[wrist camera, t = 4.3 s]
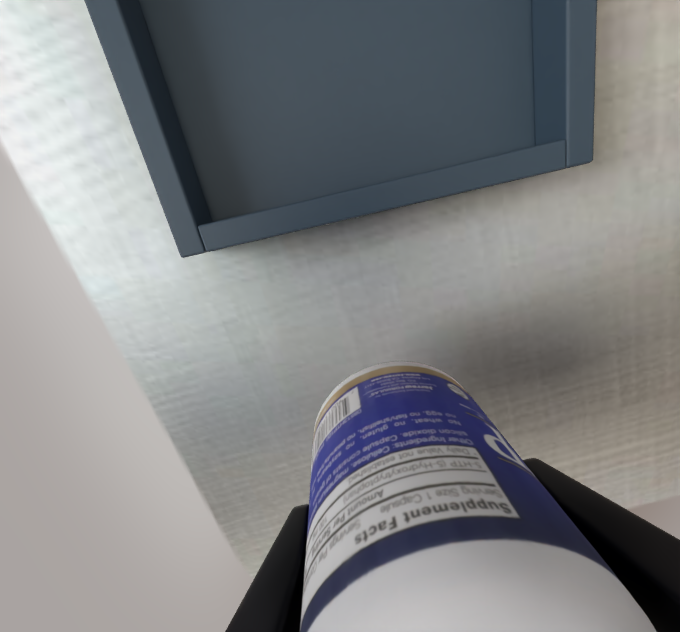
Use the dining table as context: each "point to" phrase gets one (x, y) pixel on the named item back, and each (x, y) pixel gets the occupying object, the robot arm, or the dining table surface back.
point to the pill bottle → (440, 521)
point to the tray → (344, 104)
